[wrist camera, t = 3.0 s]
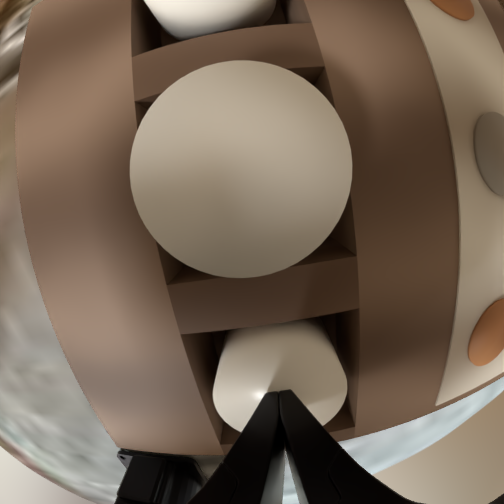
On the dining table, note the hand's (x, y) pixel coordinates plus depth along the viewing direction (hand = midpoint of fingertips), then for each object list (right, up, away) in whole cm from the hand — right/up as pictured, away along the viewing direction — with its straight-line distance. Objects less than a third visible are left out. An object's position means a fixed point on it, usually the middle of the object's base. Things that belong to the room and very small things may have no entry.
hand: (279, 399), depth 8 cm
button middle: (-1, +7, 0) cm, 7 cm away
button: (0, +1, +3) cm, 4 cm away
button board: (+2, +8, +3) cm, 9 cm away
